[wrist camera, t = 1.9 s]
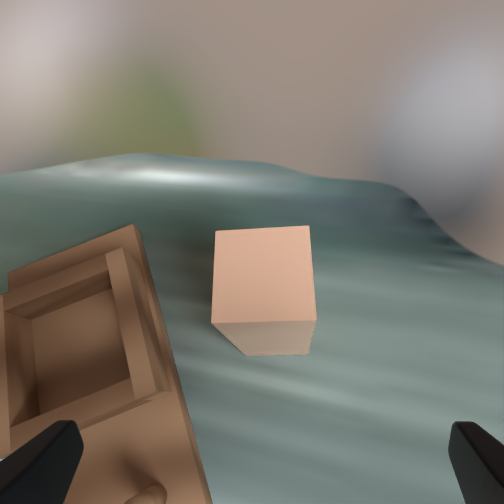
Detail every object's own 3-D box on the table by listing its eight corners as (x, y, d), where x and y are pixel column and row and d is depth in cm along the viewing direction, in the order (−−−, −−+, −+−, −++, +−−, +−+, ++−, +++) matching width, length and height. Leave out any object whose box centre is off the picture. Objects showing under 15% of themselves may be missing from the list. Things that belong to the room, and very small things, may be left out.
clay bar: (307, 354, 22) (316, 320, 12) (246, 355, 22) (211, 323, 13) (303, 294, 23) (308, 225, 14) (246, 296, 24) (215, 231, 15)
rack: (218, 524, 18) (198, 556, 15) (44, 601, 18) (-24, 655, 14) (139, 231, 27) (113, 202, 23) (19, 278, 26) (-27, 257, 23)
